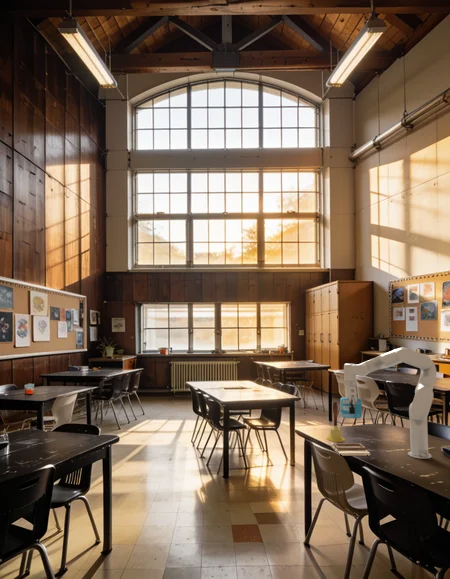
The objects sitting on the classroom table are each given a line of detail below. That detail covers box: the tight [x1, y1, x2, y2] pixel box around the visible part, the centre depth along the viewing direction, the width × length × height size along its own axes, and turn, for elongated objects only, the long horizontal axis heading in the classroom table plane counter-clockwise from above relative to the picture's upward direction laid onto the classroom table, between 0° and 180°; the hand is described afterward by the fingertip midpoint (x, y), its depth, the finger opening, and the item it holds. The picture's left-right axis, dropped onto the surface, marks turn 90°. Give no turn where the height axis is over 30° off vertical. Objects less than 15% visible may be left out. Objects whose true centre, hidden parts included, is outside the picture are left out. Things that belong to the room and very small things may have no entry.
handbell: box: [326, 401, 346, 443], centre depth 297 cm, size 12×12×25 cm
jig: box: [329, 442, 371, 457], centre depth 269 cm, size 22×18×3 cm
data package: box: [339, 396, 362, 419], centre depth 273 cm, size 12×4×12 cm, turn 86°
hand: (350, 412), depth 273 cm, fingers closed on data package, 4 cm apart
